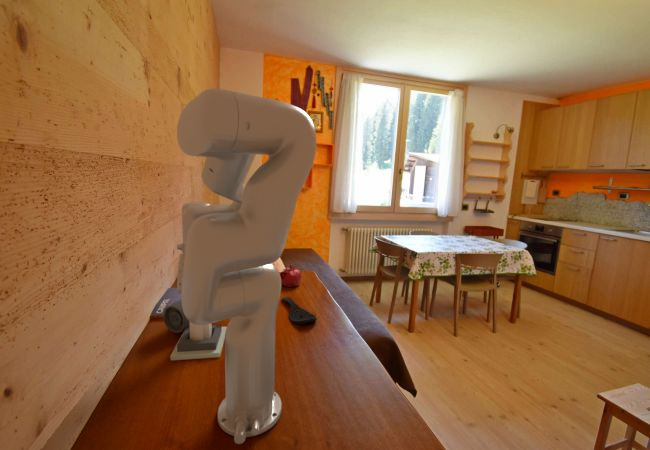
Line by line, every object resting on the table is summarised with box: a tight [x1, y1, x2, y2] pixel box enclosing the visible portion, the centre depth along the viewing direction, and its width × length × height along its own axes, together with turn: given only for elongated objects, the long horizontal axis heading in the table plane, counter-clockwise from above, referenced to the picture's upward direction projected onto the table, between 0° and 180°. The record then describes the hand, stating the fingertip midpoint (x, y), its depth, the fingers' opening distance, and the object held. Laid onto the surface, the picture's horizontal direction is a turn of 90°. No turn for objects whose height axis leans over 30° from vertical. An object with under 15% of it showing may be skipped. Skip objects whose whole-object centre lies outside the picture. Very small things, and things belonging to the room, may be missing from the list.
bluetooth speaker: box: [163, 299, 190, 333], centre depth 97 cm, size 23×9×10 cm, turn 159°
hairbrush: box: [281, 296, 317, 324], centre depth 107 cm, size 8×4×25 cm
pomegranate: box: [279, 263, 302, 288], centre depth 133 cm, size 10×10×9 cm
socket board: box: [169, 324, 227, 361], centre depth 84 cm, size 14×12×3 cm
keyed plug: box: [189, 321, 213, 341], centre depth 84 cm, size 5×5×7 cm
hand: (200, 312), depth 83 cm, fingers closed
